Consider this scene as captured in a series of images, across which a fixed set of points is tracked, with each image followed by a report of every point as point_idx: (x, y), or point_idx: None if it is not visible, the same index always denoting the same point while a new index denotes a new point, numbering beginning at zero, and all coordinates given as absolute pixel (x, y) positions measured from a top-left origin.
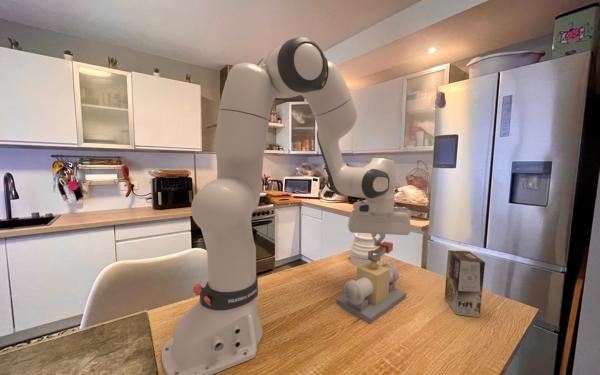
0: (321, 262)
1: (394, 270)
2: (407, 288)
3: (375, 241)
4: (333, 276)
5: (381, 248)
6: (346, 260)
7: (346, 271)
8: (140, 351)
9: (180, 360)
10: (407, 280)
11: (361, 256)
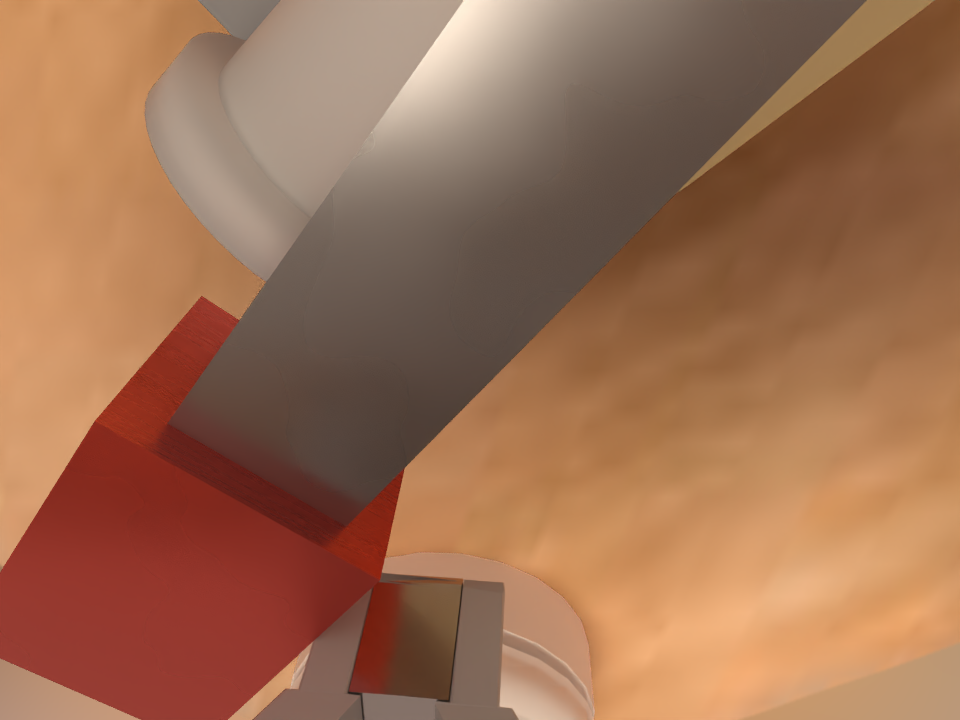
0: (888, 640)
1: (197, 98)
2: (125, 172)
3: (494, 703)
4: (888, 398)
5: (397, 301)
6: (621, 669)
7: (699, 492)
8: None
9: None
10: (102, 337)
11: (516, 666)
